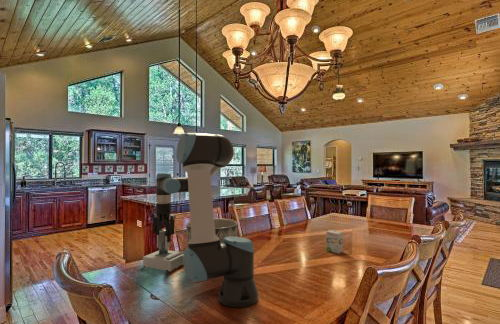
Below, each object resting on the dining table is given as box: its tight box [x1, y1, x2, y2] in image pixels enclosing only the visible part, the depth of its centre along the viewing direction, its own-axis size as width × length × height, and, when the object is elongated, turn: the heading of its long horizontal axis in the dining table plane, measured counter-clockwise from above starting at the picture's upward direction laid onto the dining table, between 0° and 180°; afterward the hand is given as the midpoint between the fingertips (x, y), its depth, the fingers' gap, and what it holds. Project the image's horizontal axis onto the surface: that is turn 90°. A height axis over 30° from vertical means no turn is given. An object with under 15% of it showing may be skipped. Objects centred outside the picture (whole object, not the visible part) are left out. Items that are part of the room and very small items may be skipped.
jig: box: [142, 249, 184, 272], centre depth 148 cm, size 14×17×6 cm
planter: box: [185, 218, 239, 246], centre depth 145 cm, size 26×26×22 cm
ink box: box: [325, 229, 344, 254], centre depth 171 cm, size 8×5×12 cm, turn 44°
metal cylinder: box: [158, 228, 169, 254], centre depth 149 cm, size 5×5×12 cm
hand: (163, 247), depth 148 cm, fingers closed on metal cylinder, 4 cm apart
